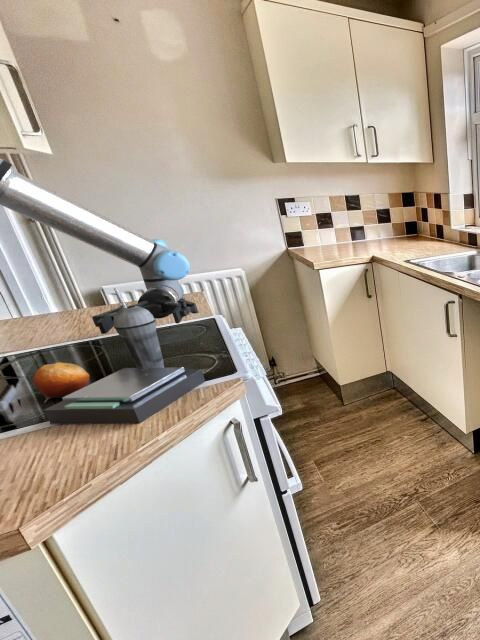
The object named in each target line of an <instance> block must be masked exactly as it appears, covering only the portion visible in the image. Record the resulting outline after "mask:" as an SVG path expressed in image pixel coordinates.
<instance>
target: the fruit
mask: <svg viewBox="0 0 480 640" xmlns="http://www.w3.org/2000/svg"><path fill="white" fill-rule="evenodd" d="M32 382H33V386H34V388H36V389H37V390H38V391H39V393H40V394H41V395H42V396H43V397H44V398H45V400H43V402H44V403H45V404H46V403H47V401H49V400H50V399H55V398H63V397H65V396H67V395H69V394H71V393H73V392H75V391H77V390H80V389H82V388H84V387H86V386H88V385H89V382H90V373H89V372H87V370H85V369H84V368H83V367H82V366H80V365H78V364H75V363H71V362H61V361H60V362H54V363H49V364H48V363H47V364H43V365H42V366H40V368H38V369H37V370H36V371H35V373H34V375H33V381H32Z"/></svg>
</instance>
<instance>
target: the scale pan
mask: <svg viewBox="0 0 480 640" xmlns="http://www.w3.org/2000/svg"><path fill="white" fill-rule="evenodd" d="M184 369H185V367H183V366H174V367H171V366H169V367H164V368H137V367H124V368H121V369H119V370H117V371H115V372H113V373H111V374H108V375H107V376H105V377H103V378H100V379H99V380H97V381H94V382H92V383H90V384H87V385H86V387H84V388H82V389H80V390H77V391H75V392H73V393H71V394H69V395H67V396H65V397H61V399H62V401H64V402H132V401H134V400H136V399H137V398H139V397H141V396H143V395H144V394H146V393H148V392H150V391H151V390H153V389H155V388H157V387H158V386H160V385H162V384H164V383H165V382H167V381H169V380H171V379H172V378H174V377H176V376H178V375H179V374H181V373H183V372H185V370H184Z"/></svg>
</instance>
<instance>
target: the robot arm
mask: <svg viewBox="0 0 480 640" xmlns="http://www.w3.org/2000/svg"><path fill="white" fill-rule="evenodd" d="M0 206H2V207H4V208H6V209H8V210H11V211H13V212H15V213H17V214H20V215H22V216H24V217H26V218H28V219H31V220H33V221H36V222H38V223H39V224H42V225H44V226H46V227H49V228H51V229H53V230H56V231H58V232H60V233H62V234H65V235H66V236H69V237H71V238H73V239H75V240H78V241H80V242H82V243H84V244H86V245H88V246H91V247H93V248H96V249H97V250H99V251H102V252H104V253H107V254H108V255H111V256H113V257H116V258H118V259H119V260H122V261H124V262H126V263H129V264H131V265H133V266H135V267H137V268H138V269H139V271H140V274H141V277H142V280H143V283H144V285H145V289H146V291H145V292H143V294H141V295H140V297H139V298H138V300H137V303H136V304H135V303H134V304H131V305H130V306H139V307H142V308H145V309H146V310H148V311H149V312H150V313H151V314H152V315H153V317H154V319H155V320H156V319H157V320H159V319H164V318H167V317H169V316H170V315H172V317H173V320H174V323H175V324H180V323H181V322H182V320H183V318H184V317H186V316H188V315H189V316H190V314H198V313H199V310H198V307H197V303H196V302H194V301H190V300H187V299H186V298H185V297H184V295H185V290H184V287H183V286H182V284H180V283H179V280H182V279H184V278H185V277H187V276H188V275H189V273H190V270H191V266H190V261H189V260H188V258H186V257H185V256H184V255H183V254H181V253H179V252H177V251H175V250H171V249H169V248H168V246H167V243H166V241H165V240H163V239H161V238H153V239H152V238H151V239H150V238H147V237H146V236H144V235H142V234H139V233H138V232H136V231H134V230H132V229H130V228H128V227H126V226H124V225H122V224H120V223H118V222H117V221H114V220H112V219H110V218H108V217H106V216H104V215H102V214H100V213H98V212H96V211H95V210H92V209H90V208H88V207H87V206H84V205H83V204H81V203H78V202H77V201H75V200H72V199H71V198H68V197H67V196H64V195H63V194H61V193H59V192H57V191H54V190H53V189H51V188H49V187H47V186H45V185H43V184H41V183H40V182H37V181H35V180H34V179H31V178H29V177H28V176H25V175H24V174H22V173H19V172H18V169H17V168H16V166H15V165H14V164H12V163H11V162H9V161H6V160H5V159H3V158H1V157H0ZM122 308H123V305H122V304H121V305H119V306H118V307H116V308H113V309H110V310H107V311H105V312H101V313H99V314H96V315H93V316H91V319H92V321H93V323H94V326H95V327H96V328H98V329H99V332H100V334H101V335H106V334H107V333H109V331H111V330H112V329H113V328H114V317H115V314H116V313H117V312H118V311H119V310H120V309H122Z"/></svg>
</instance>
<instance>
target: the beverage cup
mask: <svg viewBox="0 0 480 640" xmlns="http://www.w3.org/2000/svg"><path fill="white" fill-rule="evenodd" d="M113 291H114V292H115V294H116V296H117V298H118V299H119V302H120V303H121V306H122V305H123V308H122V309H120V310H119V311H118V312H117V313H116V314H115V317H114V327H113V328H114V330H115V331H116V333H117V334H118V335H119V337H120V338H121V340H122V341H123V343H124V346H125V347H126V350H127V351H128V353H129V355H130V357H131V359H132V361H133V363H134V364H135V368H165V363H164V358H163V353H162V350H161V344H160V341H159V336H158V333H157V323H156V321H157V320H156V318H154V317H153V315H152V314H151V313H150V312H149V311H148V310H146V309H145V308H142V307H139V306H131V305H128V306H127V305H126V303H125V301H124V299H123V298H122V296H121V294H120V292H119V290H118V288H117V287H115V288H113Z"/></svg>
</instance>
